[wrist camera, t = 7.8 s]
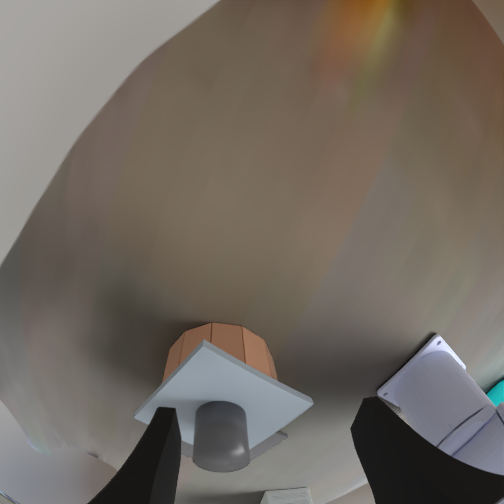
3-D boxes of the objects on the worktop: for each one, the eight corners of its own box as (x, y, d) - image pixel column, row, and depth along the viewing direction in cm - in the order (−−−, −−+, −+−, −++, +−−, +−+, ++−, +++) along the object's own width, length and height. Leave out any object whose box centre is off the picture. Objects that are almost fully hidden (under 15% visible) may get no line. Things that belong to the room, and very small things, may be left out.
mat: (287, 434, 25) (287, 437, 25) (231, 468, 27) (231, 471, 27) (211, 402, 23) (211, 405, 22) (161, 442, 25) (161, 445, 24)
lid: (311, 397, 18) (327, 446, 14) (232, 453, 19) (235, 496, 15) (203, 339, 15) (199, 394, 11) (135, 411, 17) (123, 458, 13)
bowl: (292, 357, 22) (305, 398, 17) (230, 410, 23) (231, 450, 19) (208, 304, 20) (204, 344, 15) (151, 369, 21) (140, 410, 17)
